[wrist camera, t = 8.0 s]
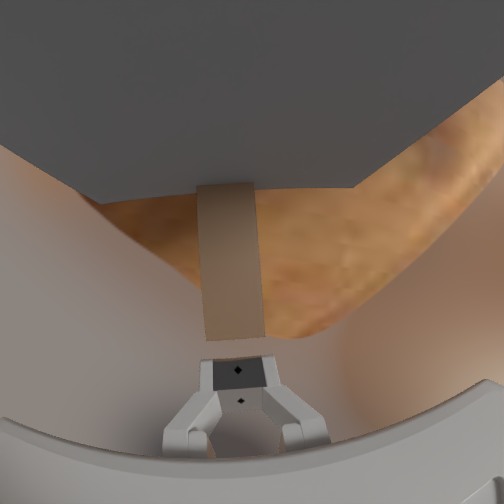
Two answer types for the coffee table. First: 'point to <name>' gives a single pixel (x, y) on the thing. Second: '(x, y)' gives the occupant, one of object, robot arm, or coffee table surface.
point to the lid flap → (234, 105)
